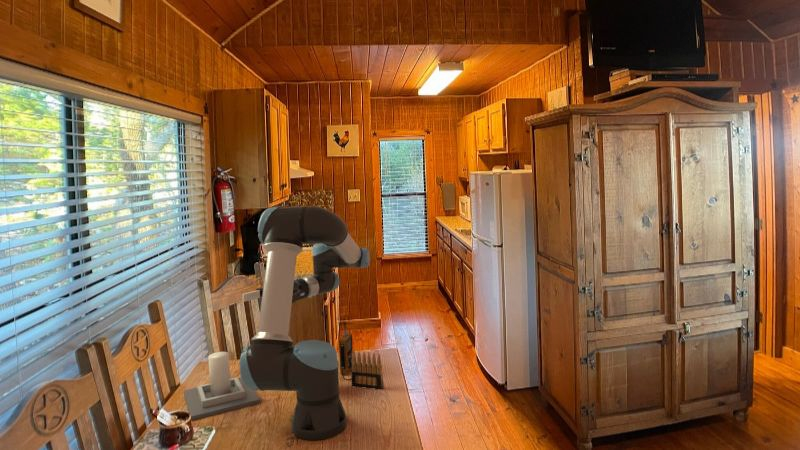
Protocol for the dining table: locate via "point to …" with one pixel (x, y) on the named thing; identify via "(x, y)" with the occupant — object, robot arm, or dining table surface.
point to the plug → (219, 373)
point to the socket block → (219, 399)
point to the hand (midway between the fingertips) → (253, 300)
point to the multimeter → (345, 351)
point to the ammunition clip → (367, 371)
